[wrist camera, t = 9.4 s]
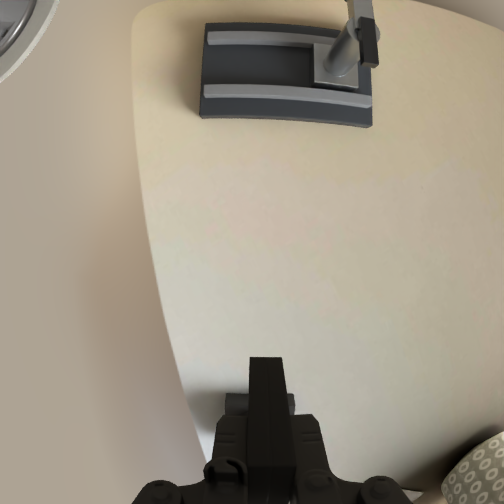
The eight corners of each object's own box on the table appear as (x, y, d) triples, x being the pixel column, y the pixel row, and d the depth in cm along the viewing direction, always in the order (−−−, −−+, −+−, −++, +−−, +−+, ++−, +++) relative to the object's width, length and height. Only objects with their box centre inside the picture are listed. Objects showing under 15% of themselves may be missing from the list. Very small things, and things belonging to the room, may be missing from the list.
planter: (505, 407, 37) (552, 463, 19) (509, 442, 41) (543, 488, 23) (427, 468, 40) (459, 536, 22) (444, 491, 43) (469, 543, 26)
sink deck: (207, 29, 25) (203, 17, 22) (363, 40, 25) (372, 31, 22) (201, 118, 27) (196, 113, 25) (367, 128, 27) (377, 124, 25)
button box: (226, 393, 34) (223, 415, 30) (293, 393, 34) (297, 415, 30) (227, 436, 36) (225, 457, 32) (287, 436, 36) (289, 458, 32)
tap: (309, 24, 23) (332, -35, 13) (348, 30, 23) (386, -23, 13) (310, 98, 25) (340, 58, 15) (352, 103, 25) (400, 69, 15)
